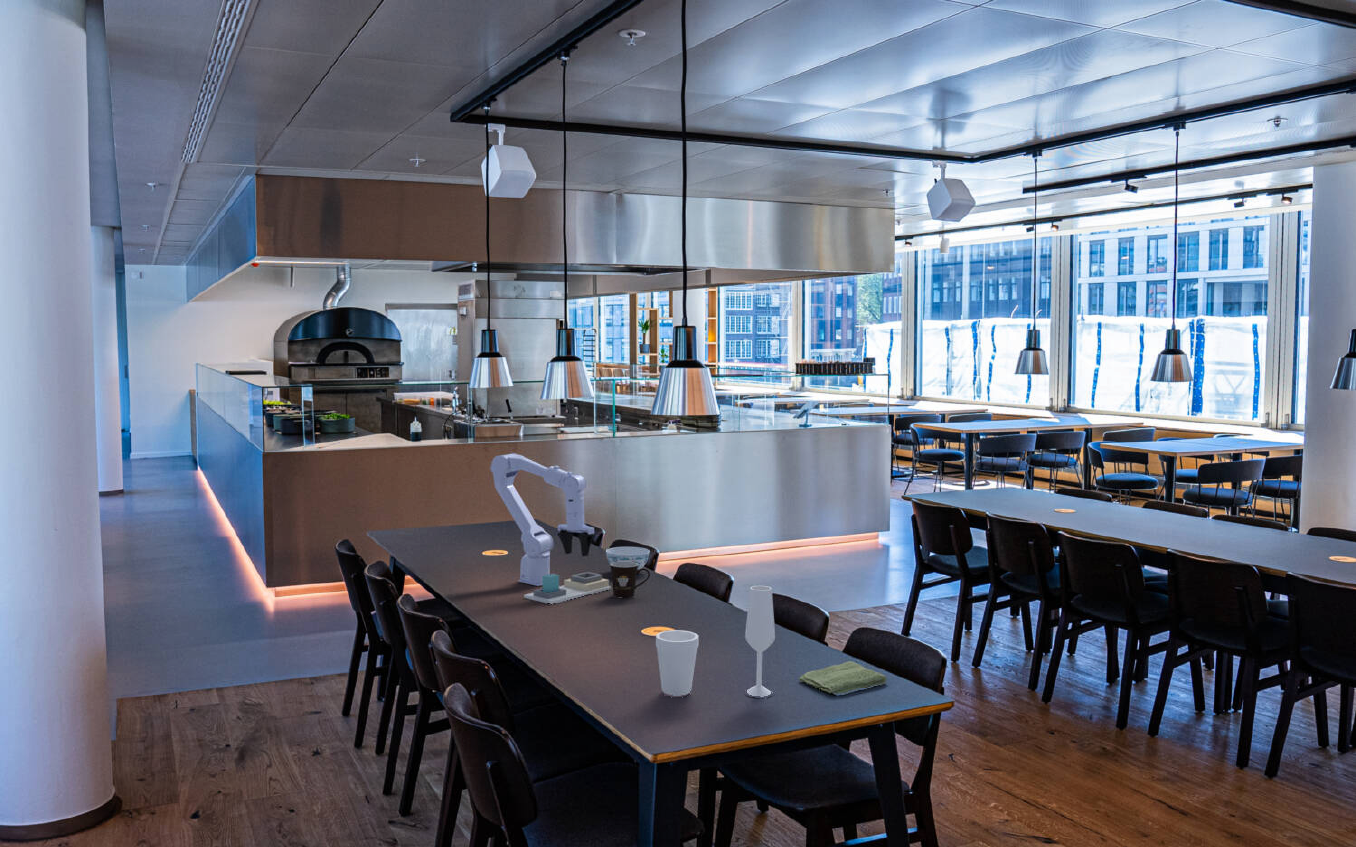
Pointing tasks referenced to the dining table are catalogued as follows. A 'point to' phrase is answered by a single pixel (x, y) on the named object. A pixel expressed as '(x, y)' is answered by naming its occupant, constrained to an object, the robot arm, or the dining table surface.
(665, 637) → the foam cup
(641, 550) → the chinaware
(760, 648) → the champagne flute
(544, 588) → the plug
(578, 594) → the panel
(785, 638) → the dining table surface
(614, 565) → the coffee mug
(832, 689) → the washcloth
